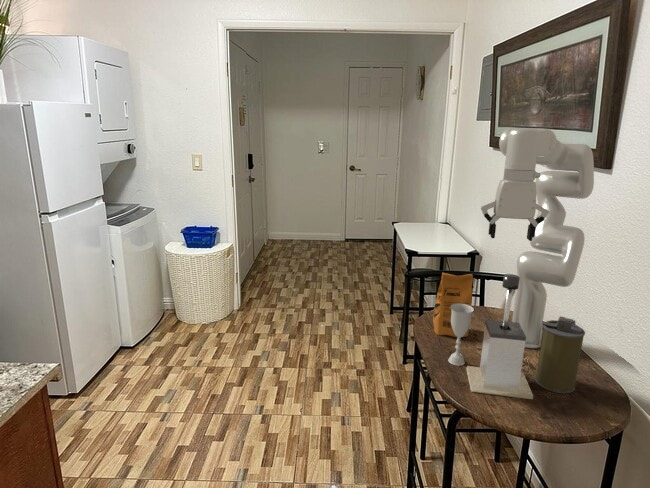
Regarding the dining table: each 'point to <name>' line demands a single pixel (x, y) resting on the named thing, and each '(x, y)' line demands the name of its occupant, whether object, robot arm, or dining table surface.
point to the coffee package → (451, 301)
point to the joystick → (501, 362)
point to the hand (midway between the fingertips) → (510, 238)
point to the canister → (559, 355)
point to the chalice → (459, 328)
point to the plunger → (509, 295)
